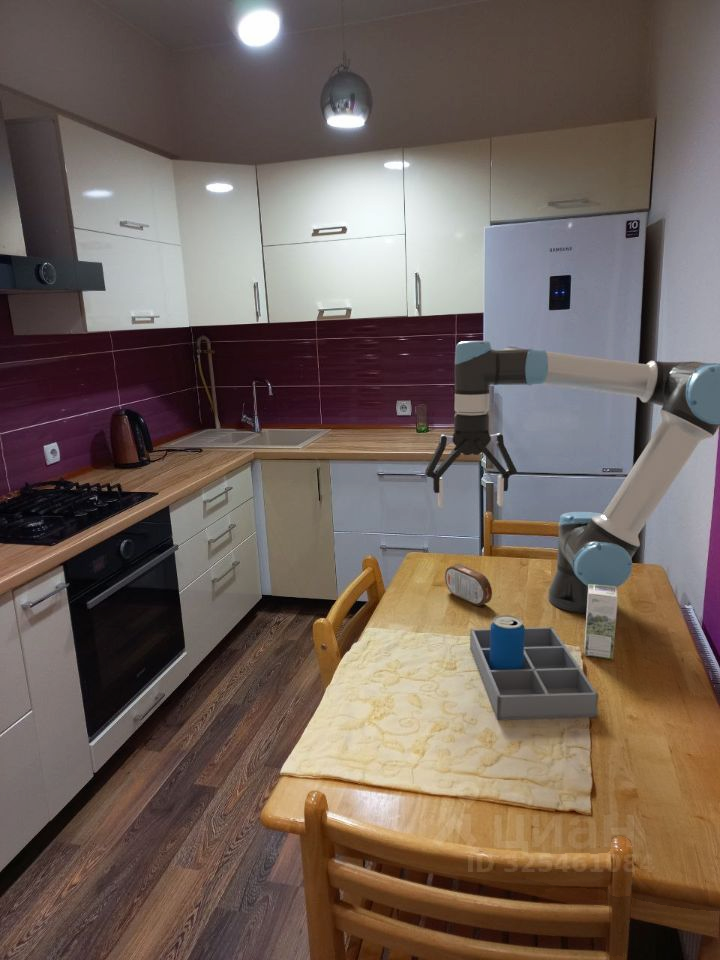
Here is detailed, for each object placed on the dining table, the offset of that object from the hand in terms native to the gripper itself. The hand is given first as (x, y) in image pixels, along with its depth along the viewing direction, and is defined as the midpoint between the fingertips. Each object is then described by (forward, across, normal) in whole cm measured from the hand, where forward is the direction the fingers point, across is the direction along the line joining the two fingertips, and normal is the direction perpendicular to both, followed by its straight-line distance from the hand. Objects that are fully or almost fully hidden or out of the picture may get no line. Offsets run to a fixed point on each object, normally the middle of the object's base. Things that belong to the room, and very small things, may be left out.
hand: (470, 505), depth 146 cm
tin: (+29, -2, -13) cm, 32 cm away
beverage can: (+28, -3, +26) cm, 38 cm away
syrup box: (+29, -25, +16) cm, 41 cm away
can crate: (+29, -7, +26) cm, 39 cm away
